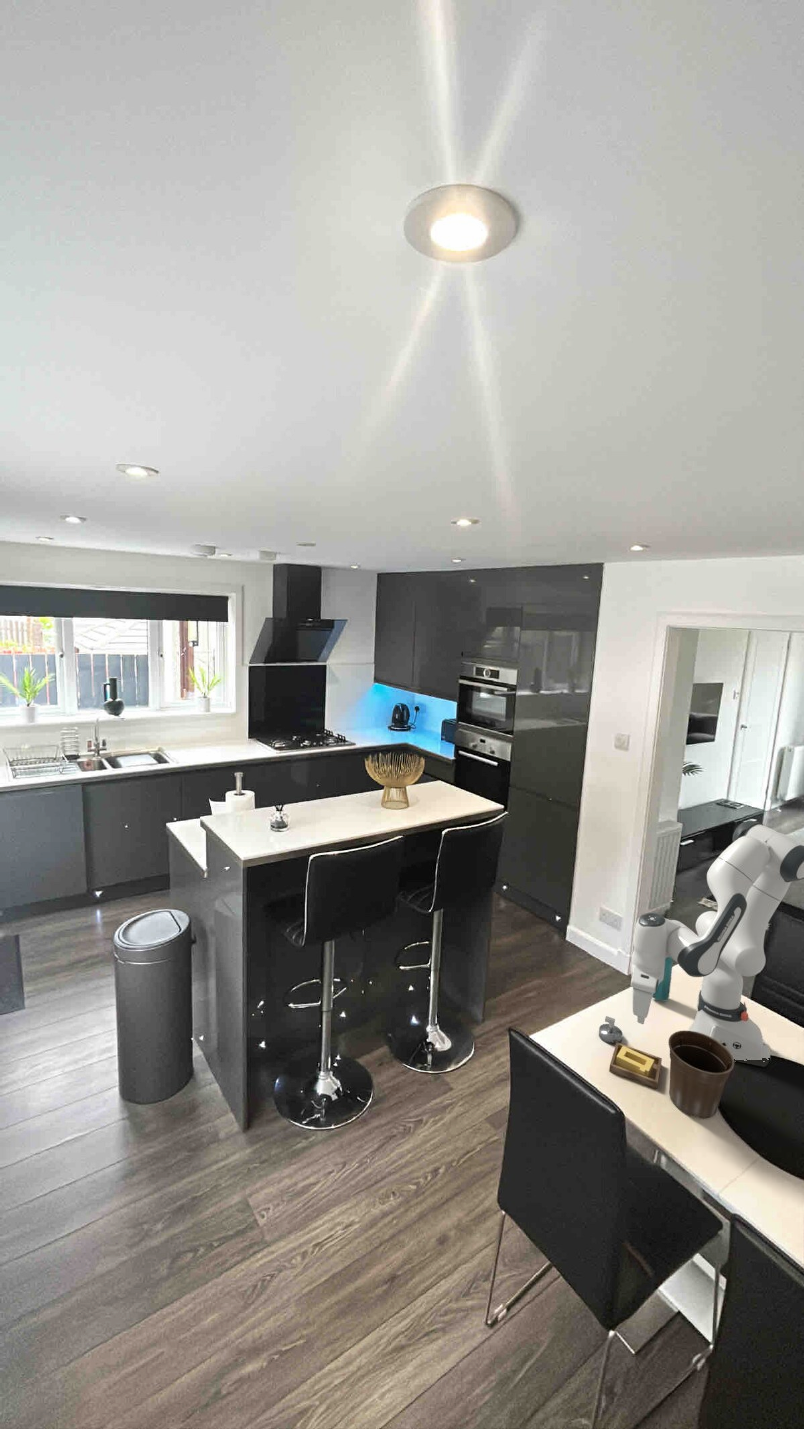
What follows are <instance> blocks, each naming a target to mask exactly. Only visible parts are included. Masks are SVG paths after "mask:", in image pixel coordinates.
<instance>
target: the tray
mask: <svg viewBox="0 0 804 1429" xmlns="http://www.w3.org/2000/svg"><path fill="white" fill-rule="evenodd" d="M622 1046H625V1047H627V1048H629V1049H631V1050H633V1051H636V1052H638V1053H640V1054H642V1055H644V1056H647V1057H649V1058H651V1059H653V1060H654V1066H653V1069H652V1071H651V1073H650V1075H649V1077H646V1076H643V1075H640V1074H638V1073H635V1072H632V1071H630V1070H627V1069H625V1068H623V1067H621V1066H619V1065H617V1064H616V1057H617V1055H618V1053H619V1052H620V1050H621V1048H622ZM662 1060H663V1058H662V1057H659V1056H656V1055H653V1054H651V1053H648V1052H645V1051H643V1050H639V1049H636V1048H634V1047H631V1046H629V1045H625V1044H623V1043H616V1045H615V1046H614V1050H613V1054H612V1056H611V1060H610V1063H609V1069H608V1072H610V1073H612V1074H614V1075H617V1076H620V1077H623V1078H625V1079H628V1080H631V1081H634V1082H636V1083H639V1084H641V1085H643V1086H646V1087H649V1088H652V1089H655V1090H657V1089H658V1083H659V1078H660V1073H661V1067H662Z"/></svg>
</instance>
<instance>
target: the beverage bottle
mask: <svg viewBox="0 0 804 1429" xmlns="http://www.w3.org/2000/svg"><path fill="white" fill-rule="evenodd" d="M673 964H674V960H673V959H672V958H671V957H667V958H666V959H665V968H664V978H663V981H662V982H660V984H659V985H658V987H657V989H656V991H655V993H653V996H652V999H655V1000H658V1001H660V1002H661V1001H665V1002H666V1001H667V1000H668V999H669V998H670V992H671V984H672V973H673V972H672V971H673Z"/></svg>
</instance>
